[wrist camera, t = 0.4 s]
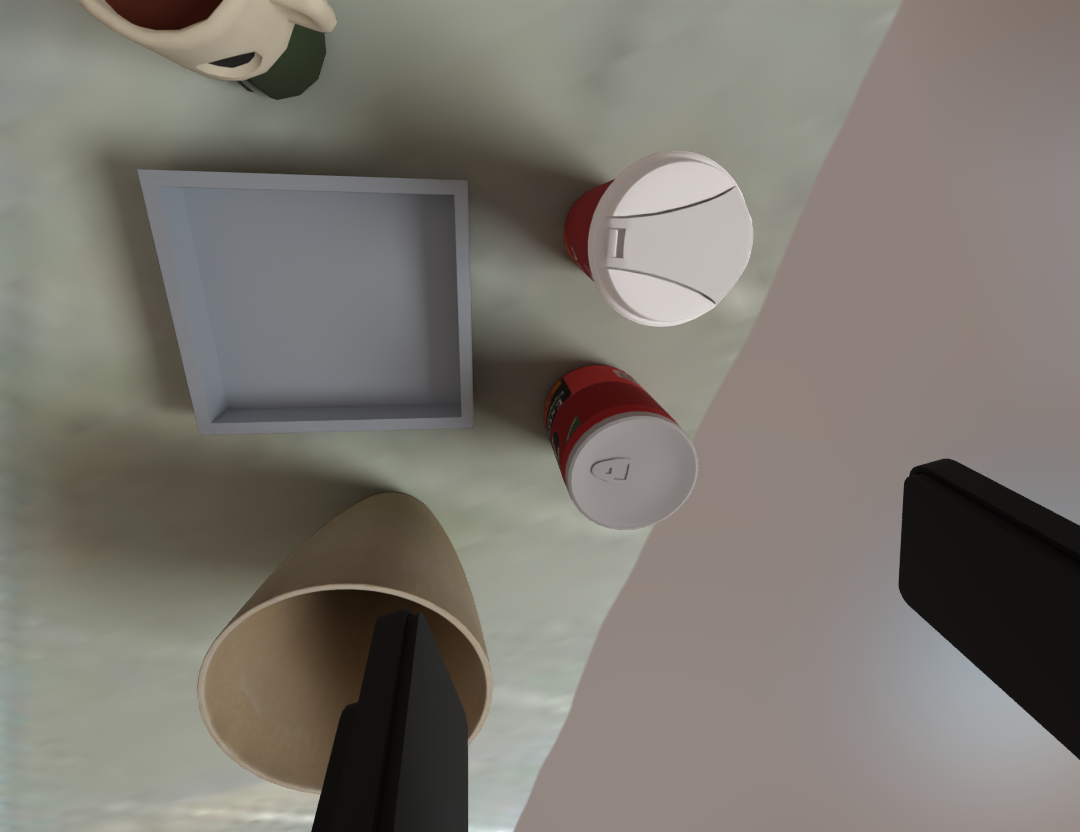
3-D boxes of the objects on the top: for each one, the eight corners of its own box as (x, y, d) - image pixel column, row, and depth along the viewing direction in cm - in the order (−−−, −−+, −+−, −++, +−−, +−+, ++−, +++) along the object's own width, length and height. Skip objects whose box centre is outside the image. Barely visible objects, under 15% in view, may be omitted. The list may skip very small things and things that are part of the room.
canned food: (535, 370, 39) (560, 427, 29) (639, 353, 39) (700, 404, 29) (547, 461, 42) (573, 542, 32) (644, 444, 42) (700, 519, 32)
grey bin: (171, 173, 31) (137, 169, 28) (467, 182, 34) (467, 180, 30) (223, 415, 37) (199, 435, 34) (473, 409, 39) (473, 427, 36)
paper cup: (545, 287, 37) (587, 331, 24) (550, 166, 34) (602, 141, 21) (652, 290, 38) (748, 333, 25) (666, 173, 35) (783, 153, 22)
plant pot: (519, 505, 43) (547, 660, 28) (420, 628, 46) (398, 823, 32) (356, 409, 38) (286, 536, 23) (258, 553, 41) (143, 744, 27)
